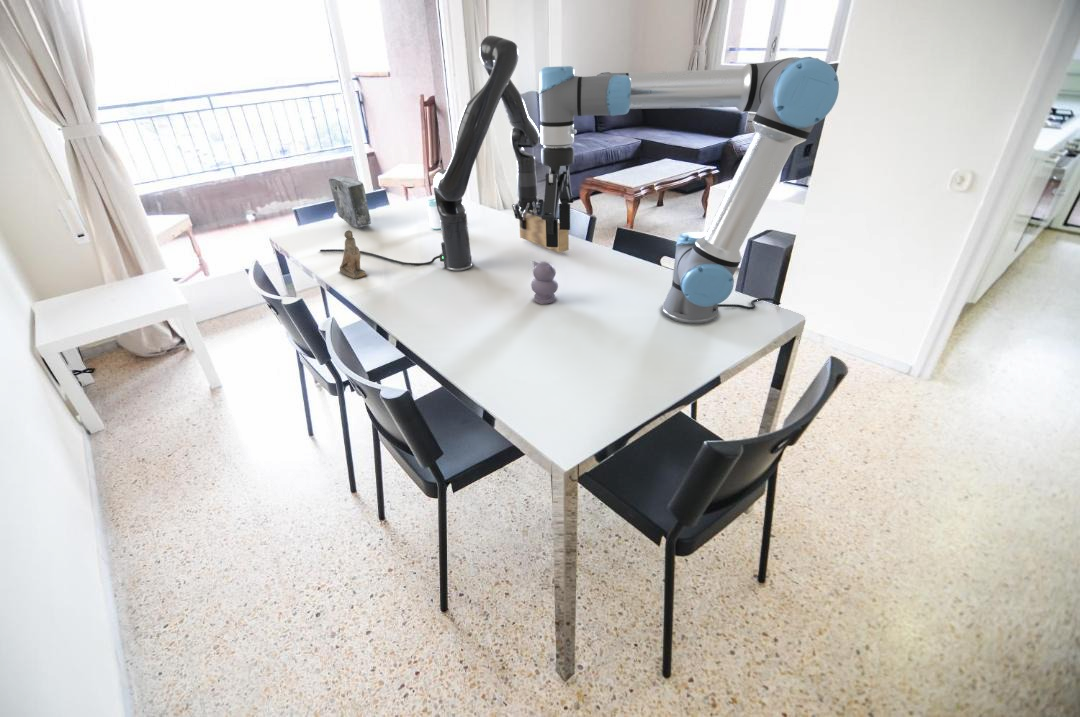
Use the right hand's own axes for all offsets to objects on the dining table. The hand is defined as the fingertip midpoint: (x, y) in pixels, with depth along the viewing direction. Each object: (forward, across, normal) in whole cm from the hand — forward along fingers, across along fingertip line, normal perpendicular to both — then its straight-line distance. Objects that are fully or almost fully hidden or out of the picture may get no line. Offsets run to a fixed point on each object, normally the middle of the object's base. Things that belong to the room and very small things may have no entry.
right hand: (558, 237), depth 123 cm
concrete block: (+26, +81, +116) cm, 144 cm away
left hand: (+20, +71, +29) cm, 80 cm away
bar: (+24, +66, +22) cm, 74 cm away
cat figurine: (+26, +18, +9) cm, 33 cm away
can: (+26, +84, +76) cm, 116 cm away
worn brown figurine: (+26, +27, +83) cm, 91 cm away
